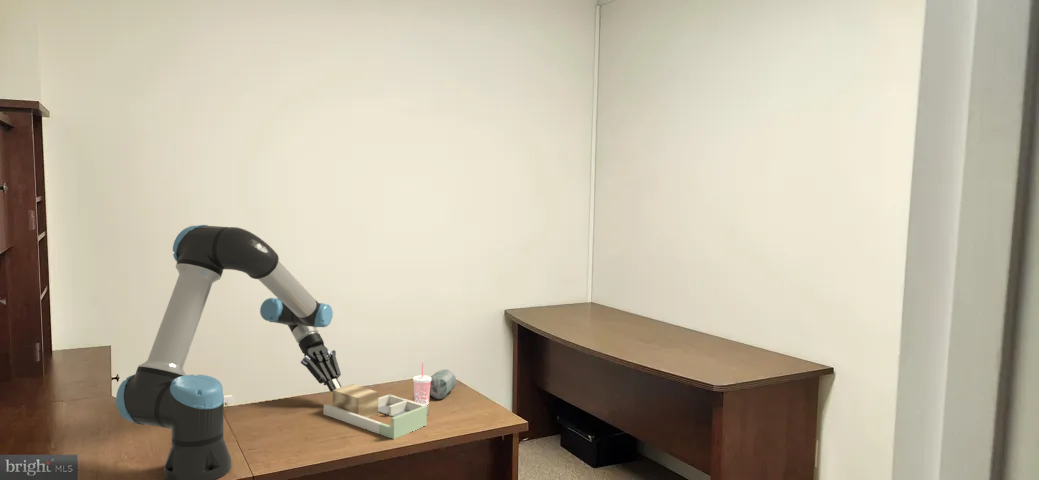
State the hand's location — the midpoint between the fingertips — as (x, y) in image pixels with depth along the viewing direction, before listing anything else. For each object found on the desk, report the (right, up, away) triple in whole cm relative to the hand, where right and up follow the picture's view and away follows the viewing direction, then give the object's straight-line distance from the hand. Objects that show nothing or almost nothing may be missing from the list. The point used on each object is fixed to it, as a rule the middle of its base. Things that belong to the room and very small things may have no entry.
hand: (340, 398), depth 215 cm
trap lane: (+15, -4, -7) cm, 17 cm away
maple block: (+6, -4, -5) cm, 8 cm away
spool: (+30, -3, +16) cm, 35 cm away
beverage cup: (+25, -4, +6) cm, 26 cm away
